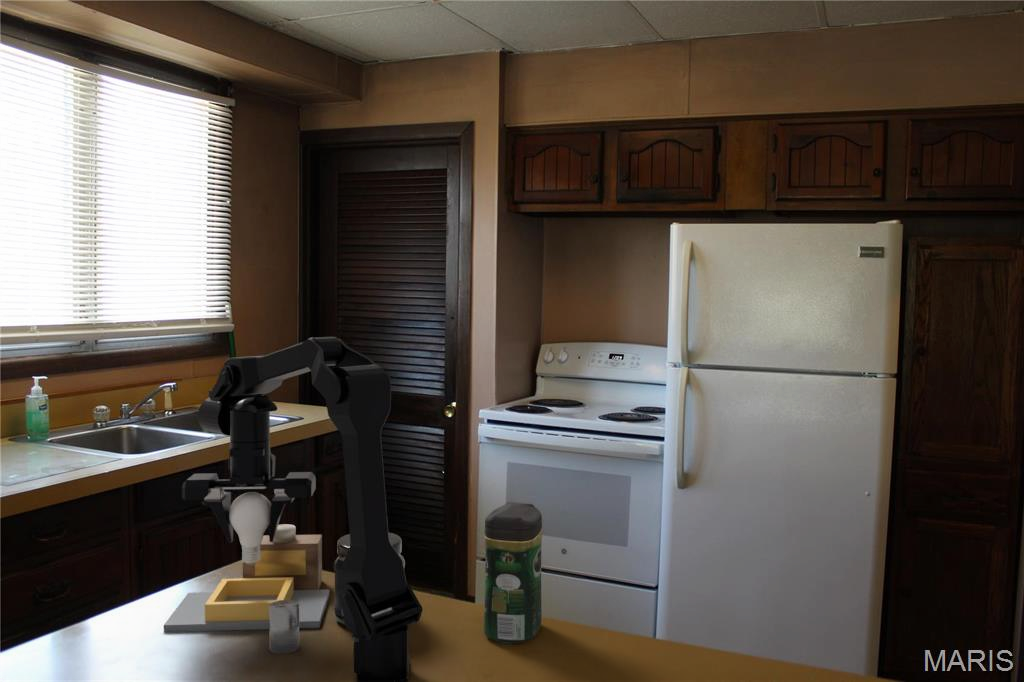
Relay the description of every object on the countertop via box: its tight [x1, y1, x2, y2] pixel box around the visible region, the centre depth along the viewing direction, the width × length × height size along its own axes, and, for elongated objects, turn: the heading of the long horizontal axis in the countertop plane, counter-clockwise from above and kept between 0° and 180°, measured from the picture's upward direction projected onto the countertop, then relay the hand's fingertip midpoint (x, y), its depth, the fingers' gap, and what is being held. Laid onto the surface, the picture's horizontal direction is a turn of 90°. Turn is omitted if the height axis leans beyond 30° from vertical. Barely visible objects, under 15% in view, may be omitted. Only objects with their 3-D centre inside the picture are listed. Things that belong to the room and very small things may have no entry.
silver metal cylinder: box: [268, 600, 300, 655], centre depth 118 cm, size 4×4×6 cm
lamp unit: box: [242, 523, 323, 590], centre depth 141 cm, size 12×5×10 cm, turn 96°
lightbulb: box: [229, 491, 271, 565], centre depth 130 cm, size 6×6×11 cm
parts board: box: [163, 577, 330, 633], centre depth 130 cm, size 22×13×4 cm, turn 96°
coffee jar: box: [483, 501, 543, 645], centre depth 124 cm, size 10×8×19 cm
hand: (251, 541), depth 130 cm, fingers closed on lightbulb, 6 cm apart
